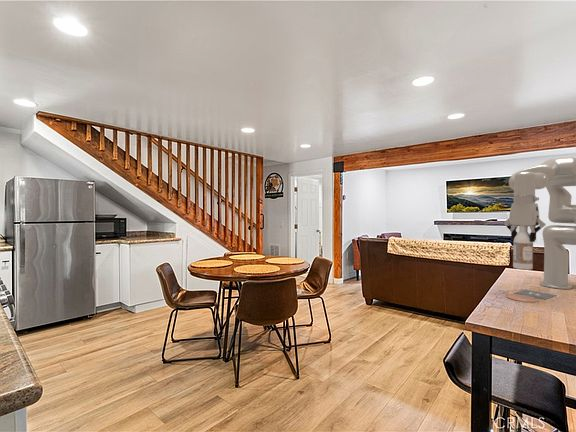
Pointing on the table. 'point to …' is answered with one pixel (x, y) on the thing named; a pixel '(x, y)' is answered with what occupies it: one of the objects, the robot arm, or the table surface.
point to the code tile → (535, 294)
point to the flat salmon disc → (522, 298)
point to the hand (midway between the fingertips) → (523, 240)
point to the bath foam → (523, 250)
